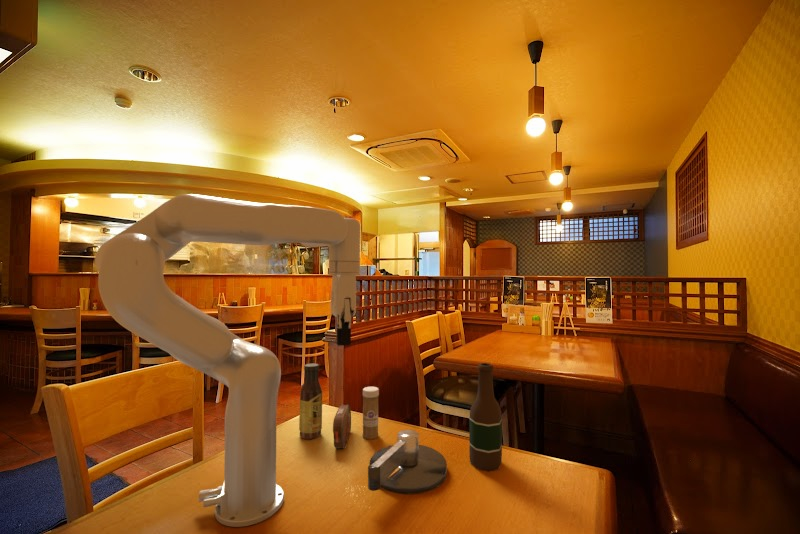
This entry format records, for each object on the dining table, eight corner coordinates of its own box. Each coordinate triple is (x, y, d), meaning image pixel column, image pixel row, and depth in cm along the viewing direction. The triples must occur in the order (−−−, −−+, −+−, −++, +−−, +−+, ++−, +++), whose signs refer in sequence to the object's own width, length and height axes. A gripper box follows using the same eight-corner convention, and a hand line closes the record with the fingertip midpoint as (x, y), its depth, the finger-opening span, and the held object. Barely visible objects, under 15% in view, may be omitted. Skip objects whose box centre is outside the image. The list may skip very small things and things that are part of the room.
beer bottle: (489, 476, 82) (489, 370, 82) (462, 462, 88) (462, 363, 88) (508, 464, 87) (508, 364, 87) (481, 452, 93) (481, 358, 93)
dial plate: (381, 501, 73) (381, 490, 73) (361, 458, 90) (361, 449, 90) (460, 484, 79) (460, 474, 79) (428, 446, 96) (428, 438, 96)
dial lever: (403, 452, 88) (403, 428, 88) (422, 457, 85) (422, 432, 85) (360, 494, 71) (360, 464, 71) (381, 502, 69) (382, 470, 69)
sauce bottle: (316, 441, 99) (316, 368, 99) (295, 439, 100) (295, 367, 100) (325, 431, 105) (326, 362, 105) (305, 429, 106) (306, 361, 107)
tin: (343, 454, 92) (343, 421, 92) (331, 454, 92) (331, 421, 92) (352, 428, 107) (352, 400, 107) (341, 428, 107) (341, 400, 107)
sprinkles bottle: (365, 441, 99) (365, 391, 99) (360, 434, 103) (360, 386, 103) (380, 438, 101) (381, 389, 101) (375, 431, 105) (375, 385, 105)
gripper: (325, 269, 94) (324, 339, 93) (332, 268, 80) (332, 352, 79) (353, 269, 96) (353, 338, 96) (366, 269, 82) (365, 350, 81)
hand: (343, 344), depth 87 cm, fingers closed
